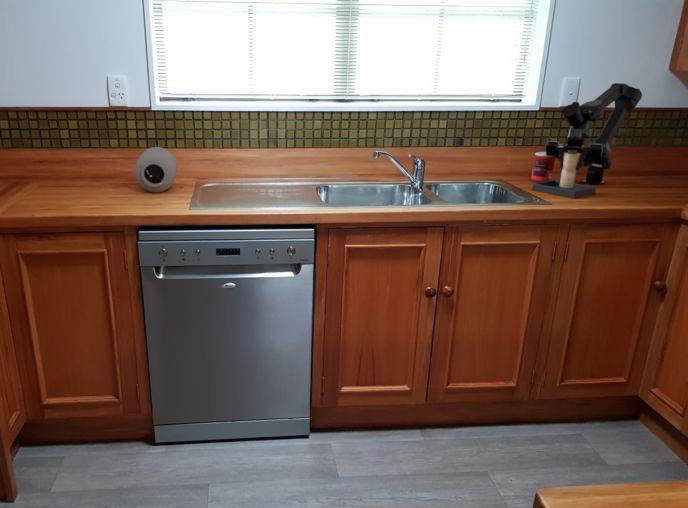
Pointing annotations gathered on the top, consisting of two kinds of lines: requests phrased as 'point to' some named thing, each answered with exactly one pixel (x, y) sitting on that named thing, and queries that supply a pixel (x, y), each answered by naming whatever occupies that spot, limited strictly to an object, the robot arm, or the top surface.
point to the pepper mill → (569, 169)
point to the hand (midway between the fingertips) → (569, 169)
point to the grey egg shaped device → (155, 169)
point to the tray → (563, 189)
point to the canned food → (542, 167)
